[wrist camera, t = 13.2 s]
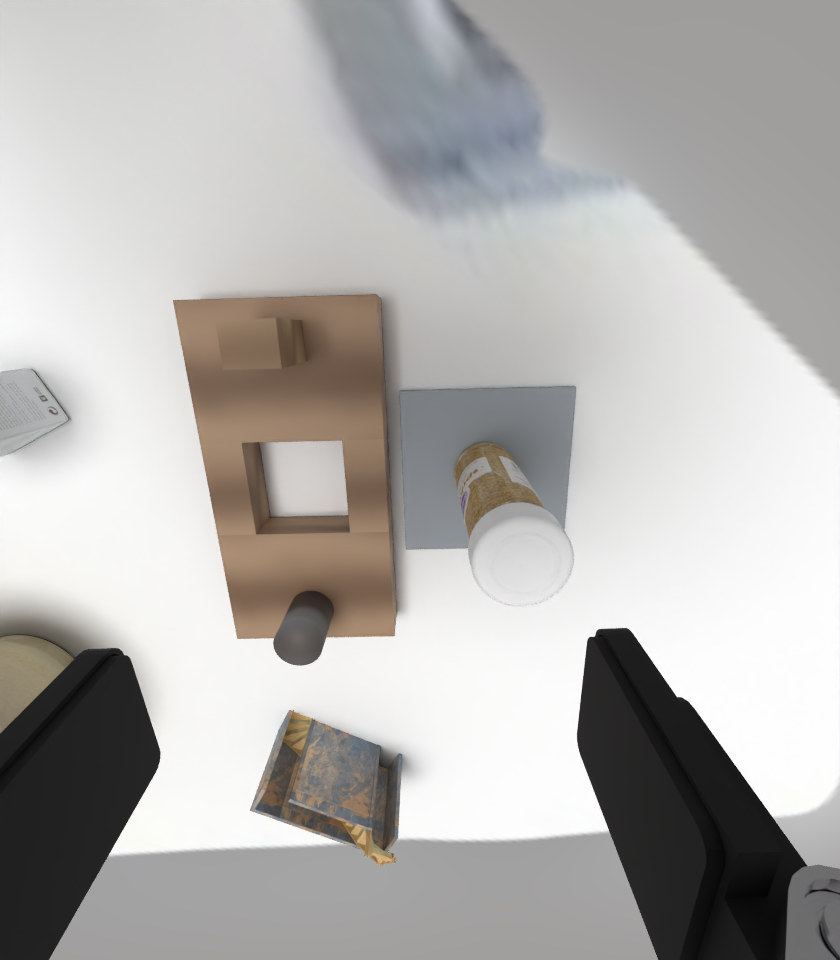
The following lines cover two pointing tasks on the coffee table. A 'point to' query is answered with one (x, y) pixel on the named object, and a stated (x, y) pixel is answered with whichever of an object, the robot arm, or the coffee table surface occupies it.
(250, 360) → the wooden peg board
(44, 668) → the planter bowl
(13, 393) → the skincare box
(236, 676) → the coffee table surface
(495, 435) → the pad
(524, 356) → the coffee table surface
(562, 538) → the sprinkles bottle
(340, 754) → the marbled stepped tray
